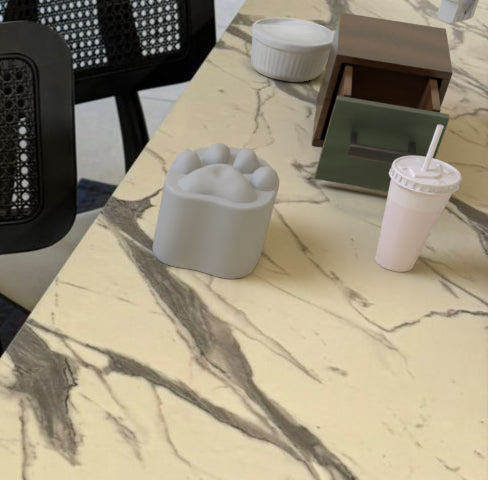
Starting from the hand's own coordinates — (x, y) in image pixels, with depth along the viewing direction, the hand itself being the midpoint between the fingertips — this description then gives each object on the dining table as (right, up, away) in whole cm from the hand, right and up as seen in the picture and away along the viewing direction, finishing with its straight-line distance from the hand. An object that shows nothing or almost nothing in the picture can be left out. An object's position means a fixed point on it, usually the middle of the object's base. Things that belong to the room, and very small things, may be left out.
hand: (453, 19), depth 91 cm
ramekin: (-2, +14, +48) cm, 50 cm away
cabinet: (+4, +2, +35) cm, 35 cm away
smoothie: (-2, -20, +10) cm, 22 cm away
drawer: (+1, -6, +24) cm, 25 cm away
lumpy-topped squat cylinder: (-20, -17, +11) cm, 28 cm away
